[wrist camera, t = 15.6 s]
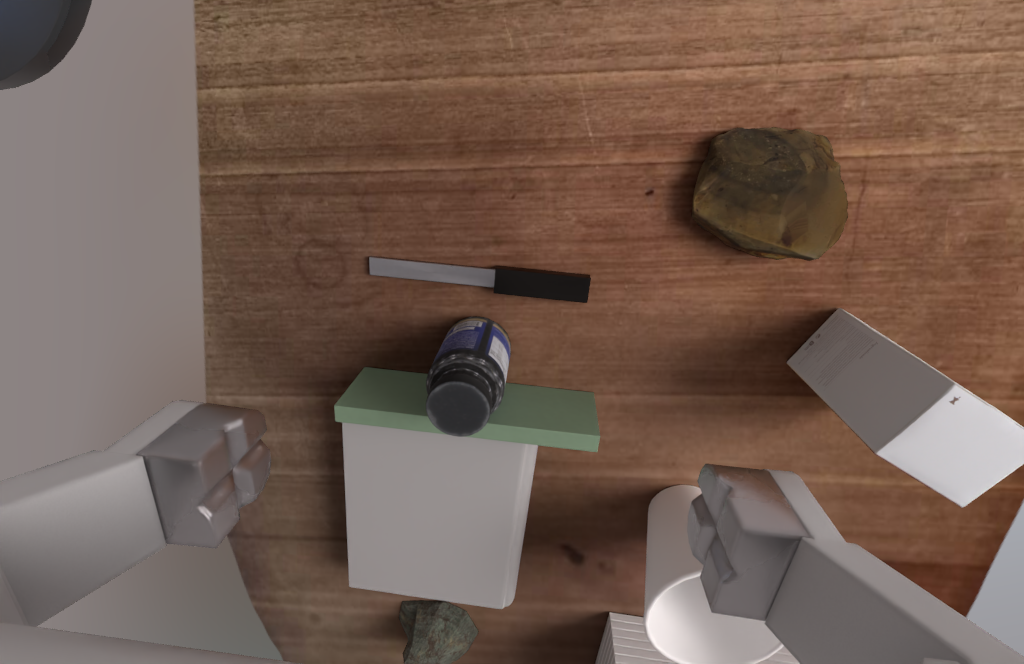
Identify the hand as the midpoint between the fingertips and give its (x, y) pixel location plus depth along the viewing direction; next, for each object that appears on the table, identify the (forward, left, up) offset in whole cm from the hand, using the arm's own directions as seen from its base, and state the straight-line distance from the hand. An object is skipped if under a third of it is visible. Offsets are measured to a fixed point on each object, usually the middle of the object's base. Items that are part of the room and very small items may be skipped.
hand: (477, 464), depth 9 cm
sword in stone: (-7, -52, -33) cm, 62 cm away
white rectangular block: (-7, -31, -33) cm, 46 cm away
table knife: (-4, -7, -33) cm, 34 cm away
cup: (+18, -30, -33) cm, 48 cm away
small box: (+28, -11, -33) cm, 45 cm away
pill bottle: (-4, -13, -33) cm, 36 cm away
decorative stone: (+17, +2, -33) cm, 37 cm away
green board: (-4, -18, -33) cm, 37 cm away
